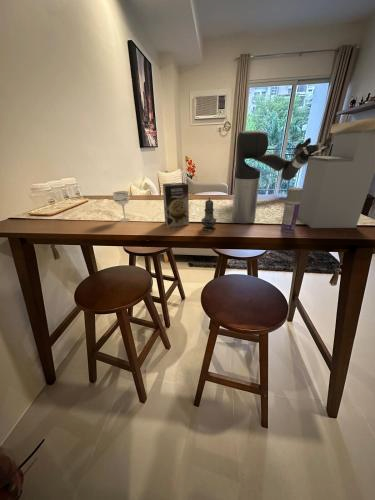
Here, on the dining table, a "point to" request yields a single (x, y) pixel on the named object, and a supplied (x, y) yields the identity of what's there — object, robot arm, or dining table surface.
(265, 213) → the dining table surface
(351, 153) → the stepped stand
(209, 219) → the grey tall carved piece
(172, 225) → the coffee box
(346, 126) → the wooden bar
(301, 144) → the robot arm
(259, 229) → the dining table surface
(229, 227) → the dining table surface
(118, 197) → the wineglass
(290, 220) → the container
